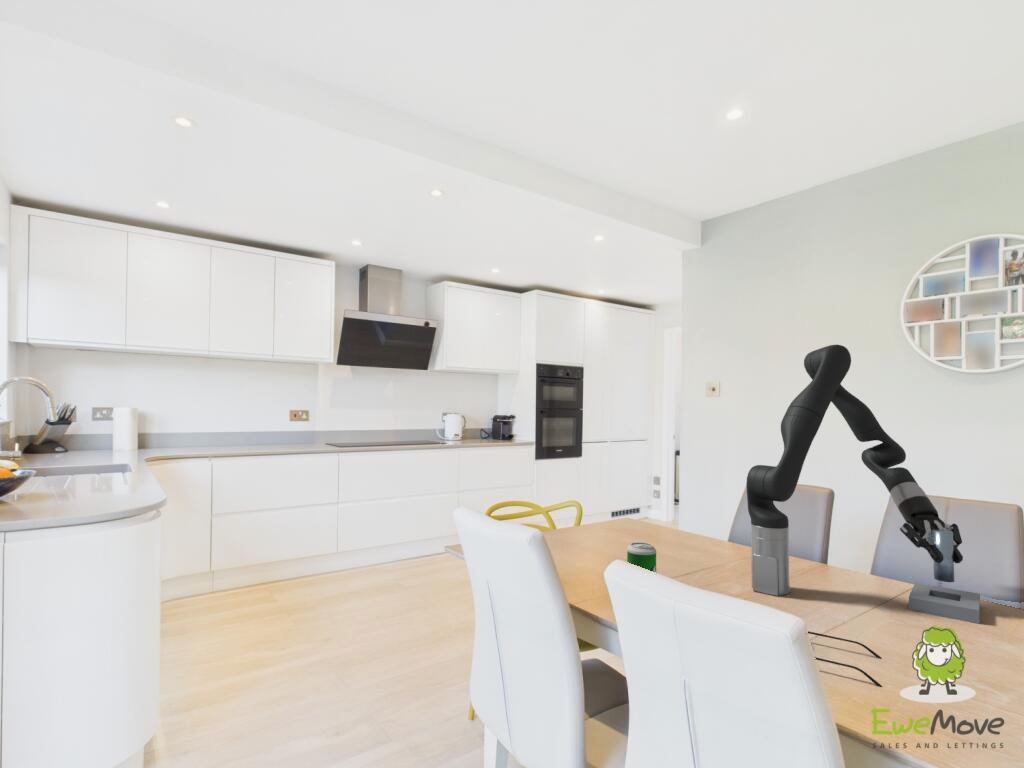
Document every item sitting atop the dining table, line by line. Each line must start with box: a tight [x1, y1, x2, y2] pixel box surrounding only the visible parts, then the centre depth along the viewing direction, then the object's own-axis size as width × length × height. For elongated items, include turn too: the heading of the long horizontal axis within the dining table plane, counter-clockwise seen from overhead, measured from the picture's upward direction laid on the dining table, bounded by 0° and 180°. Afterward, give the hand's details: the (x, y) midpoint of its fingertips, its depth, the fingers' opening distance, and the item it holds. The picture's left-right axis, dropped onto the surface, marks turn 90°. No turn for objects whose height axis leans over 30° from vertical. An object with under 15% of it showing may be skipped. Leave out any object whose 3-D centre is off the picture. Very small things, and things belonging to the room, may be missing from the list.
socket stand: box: [908, 582, 981, 625], centre depth 133 cm, size 16×13×3 cm
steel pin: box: [932, 529, 956, 583], centre depth 134 cm, size 4×4×12 cm
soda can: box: [626, 541, 657, 573], centre depth 143 cm, size 8×8×12 cm
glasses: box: [807, 630, 883, 688], centre depth 103 cm, size 14×16×5 cm
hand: (949, 561), depth 132 cm, fingers closed on steel pin, 4 cm apart
